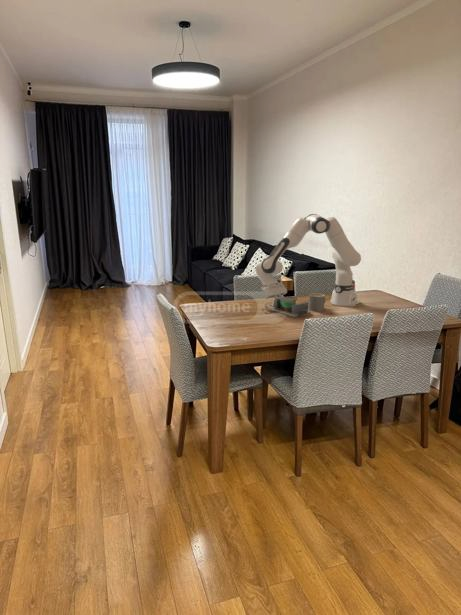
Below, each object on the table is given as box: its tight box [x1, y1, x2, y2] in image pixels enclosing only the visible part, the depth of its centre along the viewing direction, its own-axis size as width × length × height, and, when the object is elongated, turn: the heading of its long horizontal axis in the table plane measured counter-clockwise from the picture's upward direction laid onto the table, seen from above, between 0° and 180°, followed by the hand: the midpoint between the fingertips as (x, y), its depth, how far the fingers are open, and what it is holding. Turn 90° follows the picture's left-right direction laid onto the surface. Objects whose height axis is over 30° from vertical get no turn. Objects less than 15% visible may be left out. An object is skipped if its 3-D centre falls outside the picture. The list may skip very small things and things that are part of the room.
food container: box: [279, 295, 298, 312], centre depth 285 cm, size 12×6×10 cm, turn 98°
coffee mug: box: [308, 292, 326, 313], centre depth 293 cm, size 13×10×10 cm
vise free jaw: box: [273, 299, 280, 309], centre depth 291 cm, size 14×3×6 cm, turn 134°
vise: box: [266, 300, 311, 318], centre depth 288 cm, size 16×23×7 cm
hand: (280, 301), depth 293 cm, fingers closed, pressing on vise free jaw
